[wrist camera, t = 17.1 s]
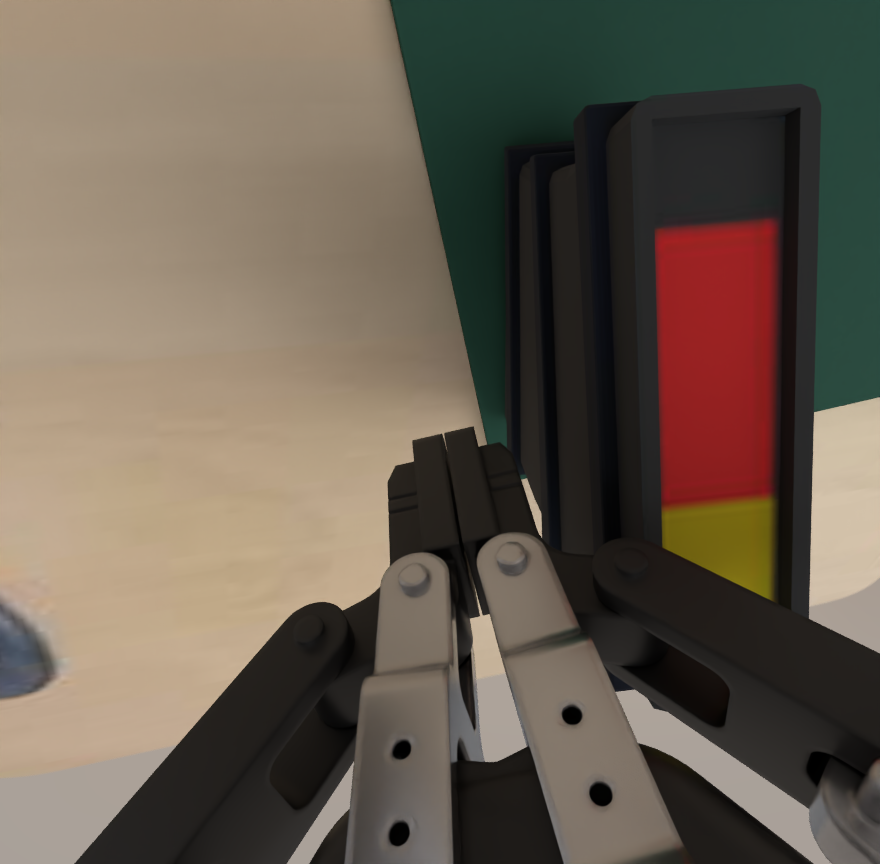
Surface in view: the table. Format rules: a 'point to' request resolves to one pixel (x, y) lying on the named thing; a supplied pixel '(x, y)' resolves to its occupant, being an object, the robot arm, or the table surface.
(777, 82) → the mat
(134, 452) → the table surface
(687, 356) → the magazine
